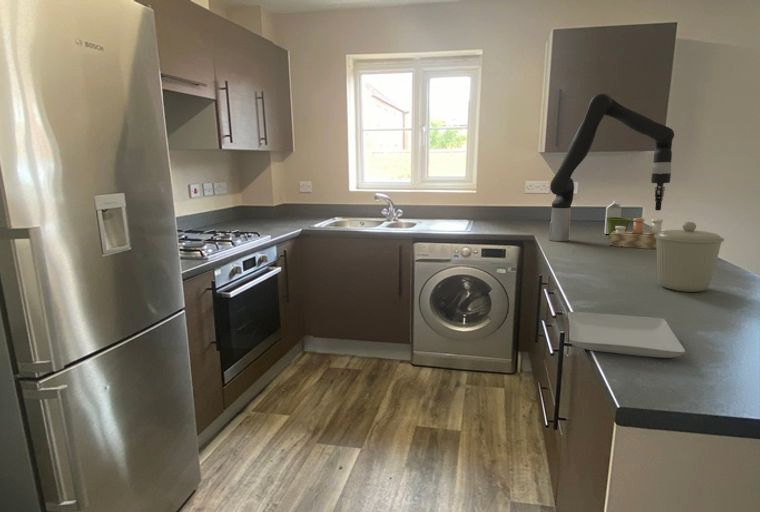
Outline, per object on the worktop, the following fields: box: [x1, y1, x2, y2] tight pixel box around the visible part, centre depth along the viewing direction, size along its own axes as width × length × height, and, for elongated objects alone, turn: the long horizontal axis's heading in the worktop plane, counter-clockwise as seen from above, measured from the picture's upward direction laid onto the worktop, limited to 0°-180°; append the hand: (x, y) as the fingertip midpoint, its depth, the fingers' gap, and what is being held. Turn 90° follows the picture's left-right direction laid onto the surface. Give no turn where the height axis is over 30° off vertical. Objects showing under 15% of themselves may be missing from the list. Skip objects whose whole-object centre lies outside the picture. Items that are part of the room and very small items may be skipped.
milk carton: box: [604, 200, 622, 235], centre depth 257 cm, size 7×7×19 cm
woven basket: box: [609, 231, 657, 250], centre depth 221 cm, size 22×10×6 cm, turn 55°
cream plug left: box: [615, 226, 626, 234], centre depth 224 cm, size 5×5×8 cm
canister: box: [654, 221, 725, 293], centre depth 143 cm, size 18×18×21 cm
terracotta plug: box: [632, 217, 645, 235], centre depth 220 cm, size 5×5×8 cm
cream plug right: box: [650, 218, 664, 235], centre depth 215 cm, size 5×5×8 cm
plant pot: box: [605, 216, 632, 239], centre depth 241 cm, size 12×12×11 cm
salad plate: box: [567, 311, 686, 359], centre depth 102 cm, size 21×21×3 cm
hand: (658, 210), depth 214 cm, fingers closed
